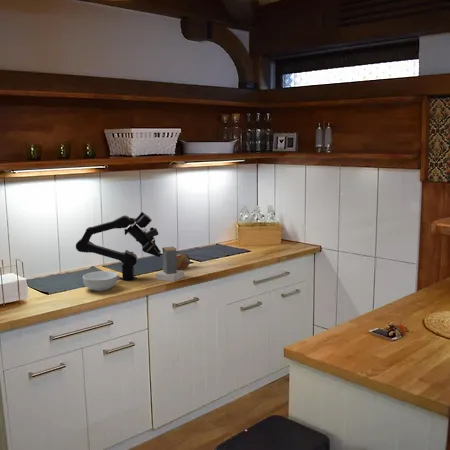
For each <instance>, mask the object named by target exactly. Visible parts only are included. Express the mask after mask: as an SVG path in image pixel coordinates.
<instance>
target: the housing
mask: <svg viewBox="0 0 450 450" xmlns="http://www.w3.org/2000/svg"><path fill="white" fill-rule="evenodd" d="M161 249H162V271H163V272H164V273H166V274H172V273H177V264H176V255H177V249H178V248H176V247H174V246H164V247H162V248H161Z"/></svg>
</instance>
